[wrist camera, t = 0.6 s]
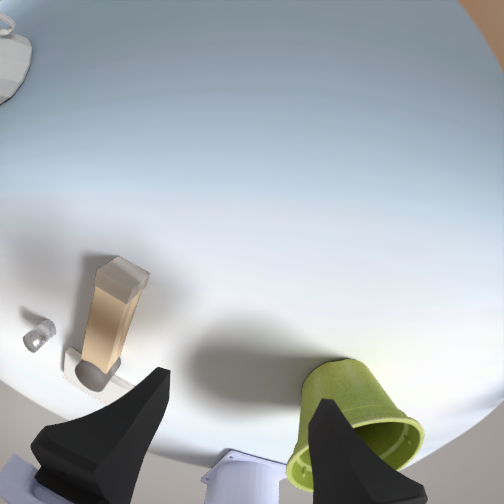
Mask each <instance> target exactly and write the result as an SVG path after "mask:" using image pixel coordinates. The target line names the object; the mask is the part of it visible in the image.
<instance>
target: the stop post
mask: <svg viewBox="0 0 504 504" xmlns="http://www.w3.org/2000/svg"><path fill="white" fill-rule="evenodd" d="M55 334H56V328H55V326H54V324H53V323H52V322H51V321H50V320H48V319H45V320H44V321H42V322H41V323H40V324H38V325H37V326H36V327H35V328H33V329H32V330H31V331H30V332H28V333H27V334H26V335H25V336H24V337H23V342H24V344H25V346H26V347H27V349H28V350H29V351H31V352H33V353H35V352H36V351H37V350H38V349H39V348H40V347H42V346H43V345H44V344H45V343H46V342H47V341H48V340H49V339H50V338H52V337H53V336H54V335H55Z"/></svg>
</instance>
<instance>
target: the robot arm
mask: <svg viewBox="0 0 504 504" xmlns="http://www.w3.org/2000/svg"><path fill="white" fill-rule="evenodd" d="M170 371H171V370H167V369H164V368H160V367H157V368H156V369H155V370H153V371H152V372H151V373H150V374H149V375H148V376H147V377H146V378H145V379H144V380H142V381H141V382H140V383H139V384H138V385H136V386H135V387H134V388H133V389H131V390H130V391H129V392H127V393H126V394H124V395H123V396H122V397H120V398H119V399H117V400H116V401H114V402H112V403H111V404H109V405H107V406H105V407H103V408H102V409H100V410H97V411H95V412H93V413H91V414H89V415H86V416H84V417H81V418H78V419H75V420H71V421H68V422H65V423H60V424H55V425H49V426H45V427H44V428H43V429H42V430H41V431H40V433H39V434H38V435H37V437H36V438H35V439H34V441H33V442H32V443H31V450H32V452H33V454H34V455H35V457H36V459H37V460H38V462H39V463H40V465H41V468H40V469H39V471H38V470H37V469H36V468H35V467H34V466H33V465H31V464H30V463H28V462H27V461H25V460H24V459H22V458H21V457H20V456H18V455H17V454H13V455H12V456H11V458H10V459H9V461H8V462H7V464H6V465H5V466H4V468H3V469H2V470H1V472H0V497H1V498H2V499H4V500H5V501H6V502H7V503H8V504H130V502H131V498H132V494H133V491H134V487H135V483H136V481H137V478H138V474H139V471H140V468H141V465H142V462H143V459H144V456H145V454H146V452H147V449H148V447H149V445H150V443H151V441H152V439H153V437H154V435H155V433H156V431H157V429H158V427H159V425H160V423H161V420H162V418H163V416H164V413H165V410H166V407H167V404H168V401H169V390H170ZM308 445H309V453H310V460H311V468H312V475H313V504H425V503H426V502H427V500H428V498H427V495H426V492H425V489H424V487H423V485H421V484H419V483H417V482H415V481H413V480H411V479H409V478H407V477H406V476H404V475H402V474H401V473H399V472H398V471H396V470H395V469H393V468H392V467H391V466H389V465H388V464H387V463H386V462H384V461H383V460H382V459H381V458H380V457H379V456H378V455H376V454H375V453H374V452H373V451H372V450H371V449H370V448H369V447H368V446H367V444H366V443H365V442H364V441H363V440H362V439H361V437H360V436H359V435H358V434H357V432H356V431H355V430H354V429H353V427H352V426H351V424H350V423H349V422H348V420H347V419H346V417H345V416H344V414H343V413H342V411H341V410H340V409H339V407H338V406H337V404H336V403H335V401H334V400H333V399H323V398H322V399H321V401H320V403H319V405H318V407H317V409H316V411H315V413H314V415H313V417H312V418H311V420H310V422H309V424H308ZM284 477H286V465H284V464H280V463H276V462H272V461H268V460H264V459H260V458H257V457H253V456H250V455H246V454H243V453H240V452H237V451H229V452H228V453H227V454H226V455H225V456H224V457H223V458H222V459H221V460H220V461H219V462H218V463H217V464H216V465H215V466H214V467H213V468H212V469H211V470H210V471H209V472H208V473H207V474H206V475H205V476H204V477H202V478H201V482H203V483H206V484H208V485H207V491H206V496H205V501H204V504H279V481H280V480H282V479H283V478H284Z"/></svg>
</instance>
